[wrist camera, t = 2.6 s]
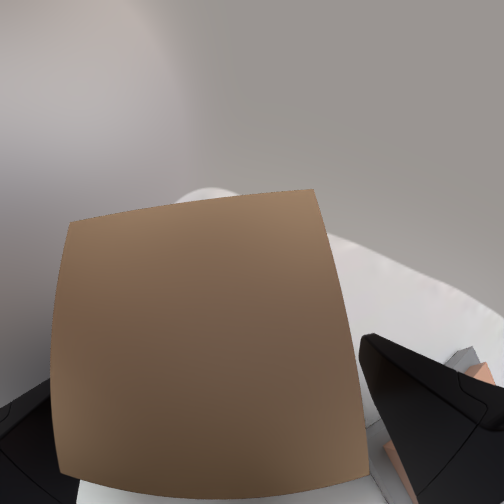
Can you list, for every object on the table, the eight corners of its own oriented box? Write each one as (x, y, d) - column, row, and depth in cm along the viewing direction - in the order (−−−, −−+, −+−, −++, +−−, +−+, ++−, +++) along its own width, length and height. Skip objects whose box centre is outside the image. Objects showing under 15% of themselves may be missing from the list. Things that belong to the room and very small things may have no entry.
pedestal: (495, 441, 11) (523, 441, 7) (402, 527, 9) (424, 544, 6) (457, 351, 15) (487, 340, 12) (351, 438, 13) (372, 448, 10)
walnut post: (286, 411, 14) (369, 474, 3) (202, 418, 14) (60, 473, 3) (276, 332, 17) (313, 188, 5) (195, 340, 16) (69, 222, 5)
